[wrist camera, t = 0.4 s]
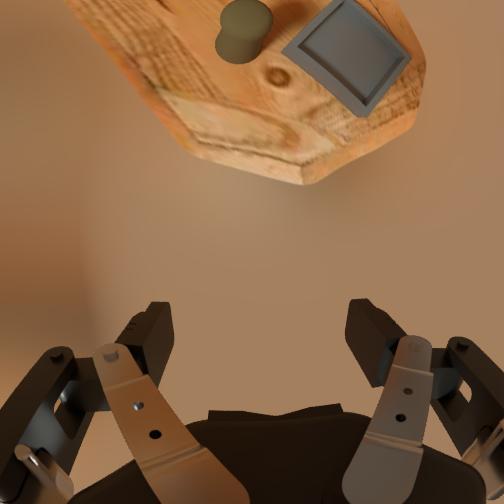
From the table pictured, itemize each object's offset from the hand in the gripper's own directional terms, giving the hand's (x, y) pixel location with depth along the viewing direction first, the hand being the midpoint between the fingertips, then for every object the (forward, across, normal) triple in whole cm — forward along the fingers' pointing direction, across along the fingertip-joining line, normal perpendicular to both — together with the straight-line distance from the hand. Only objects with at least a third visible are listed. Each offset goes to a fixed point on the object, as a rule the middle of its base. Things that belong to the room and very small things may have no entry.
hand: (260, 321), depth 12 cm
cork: (+24, +1, -24) cm, 34 cm away
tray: (+25, -14, -25) cm, 38 cm away
